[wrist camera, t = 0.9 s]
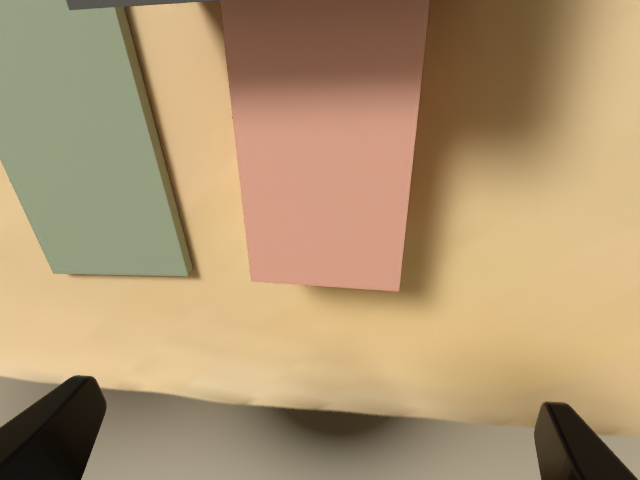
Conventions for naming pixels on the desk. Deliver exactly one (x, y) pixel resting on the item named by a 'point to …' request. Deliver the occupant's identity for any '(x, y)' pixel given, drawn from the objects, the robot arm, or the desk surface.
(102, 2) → the dispenser
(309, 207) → the pink block
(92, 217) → the green block
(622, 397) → the desk surface
